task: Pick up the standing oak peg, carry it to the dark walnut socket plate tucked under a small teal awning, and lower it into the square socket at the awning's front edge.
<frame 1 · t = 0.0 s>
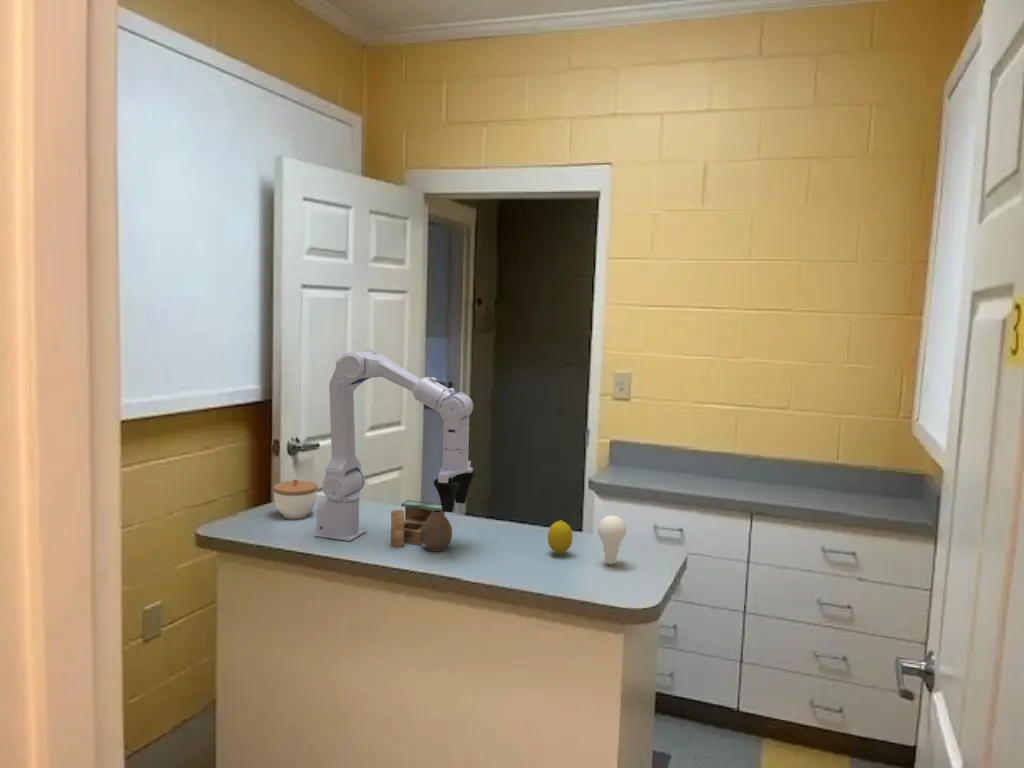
hand: (454, 507, 174), 10 cm above the table, fingers open, 7 cm apart
socket awning: (412, 538, 182), on the table
lidded jar: (295, 516, 198), on the table
lemon: (559, 555, 175), on the table
oak peg: (397, 545, 177), on the table
lightbulb: (610, 565, 170), on the table
vase: (436, 549, 176), on the table
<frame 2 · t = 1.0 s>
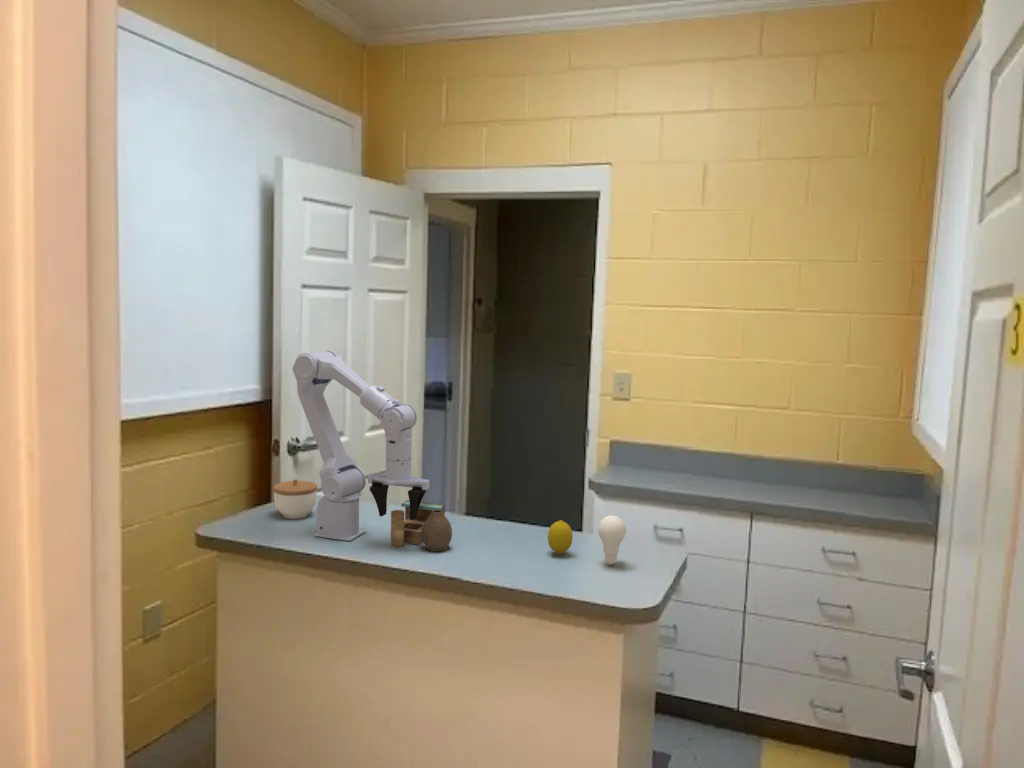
hand: (397, 517, 176), 7 cm above the table, fingers open, 7 cm apart
nothing on the table moved.
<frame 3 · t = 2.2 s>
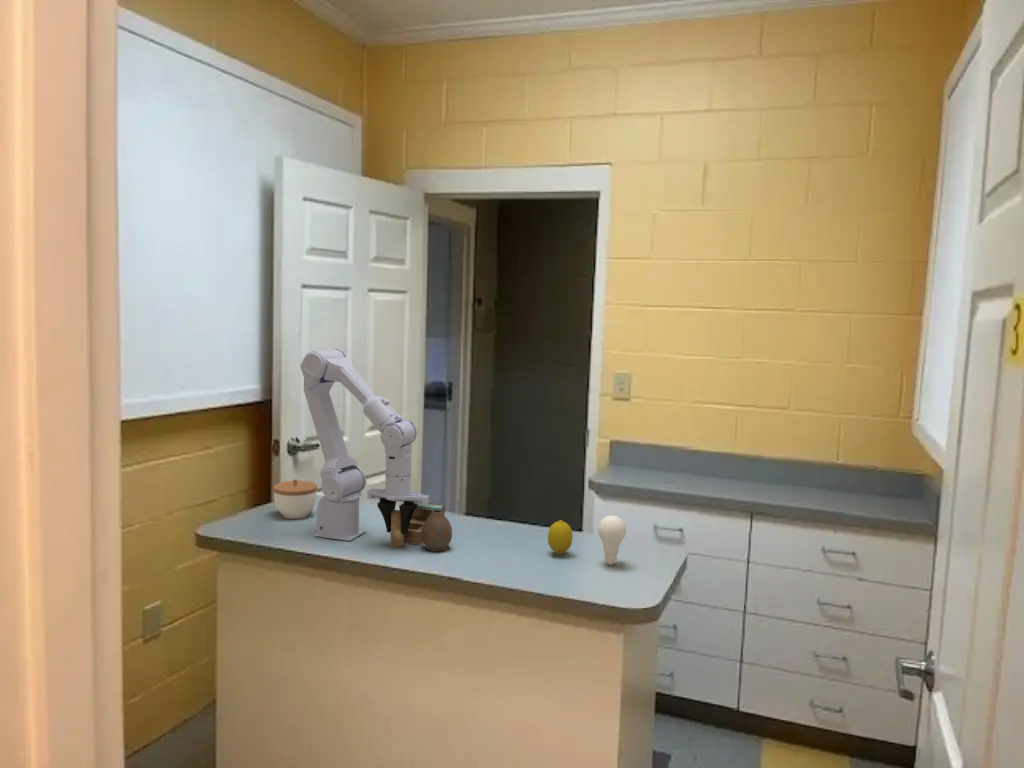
hand: (397, 532, 177), 3 cm above the table, fingers closed on oak peg, 3 cm apart
oak peg: (397, 545, 177), on the table, touching gripper
everything else where it was.
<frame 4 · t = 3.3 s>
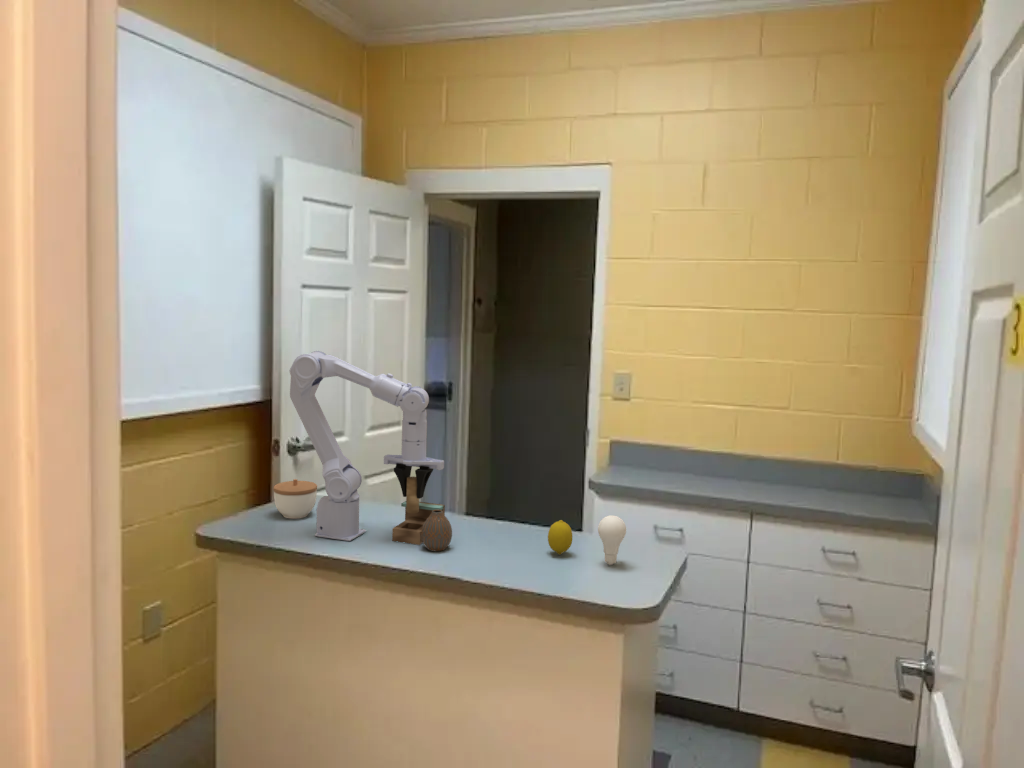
hand: (413, 496, 181), 10 cm above the table, fingers closed on oak peg, 3 cm apart
oak peg: (412, 511, 182), point 7 cm above the table, touching gripper
everything else where it was.
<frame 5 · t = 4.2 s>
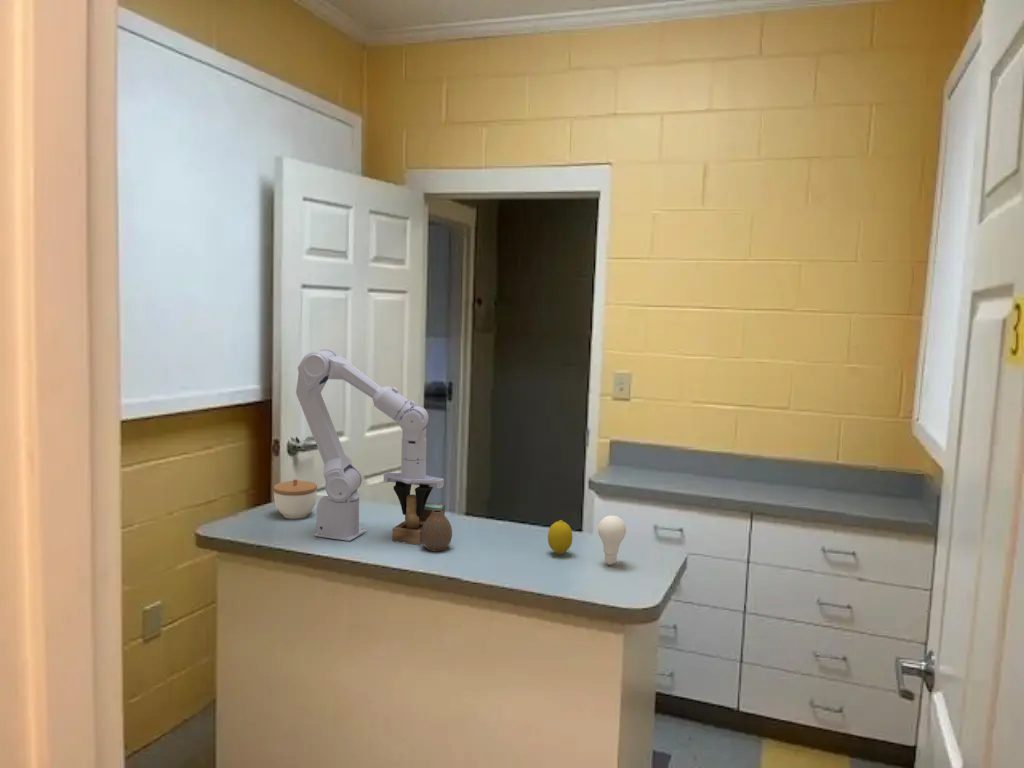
hand: (412, 514, 182), 6 cm above the table, fingers closed on oak peg, 3 cm apart
oak peg: (412, 529, 182), point 2 cm above the table, touching gripper
everything else where it was.
when the fingers open (5 cm above the table, at t = 4.8 s): oak peg drops 1 cm, resting in socket awning.
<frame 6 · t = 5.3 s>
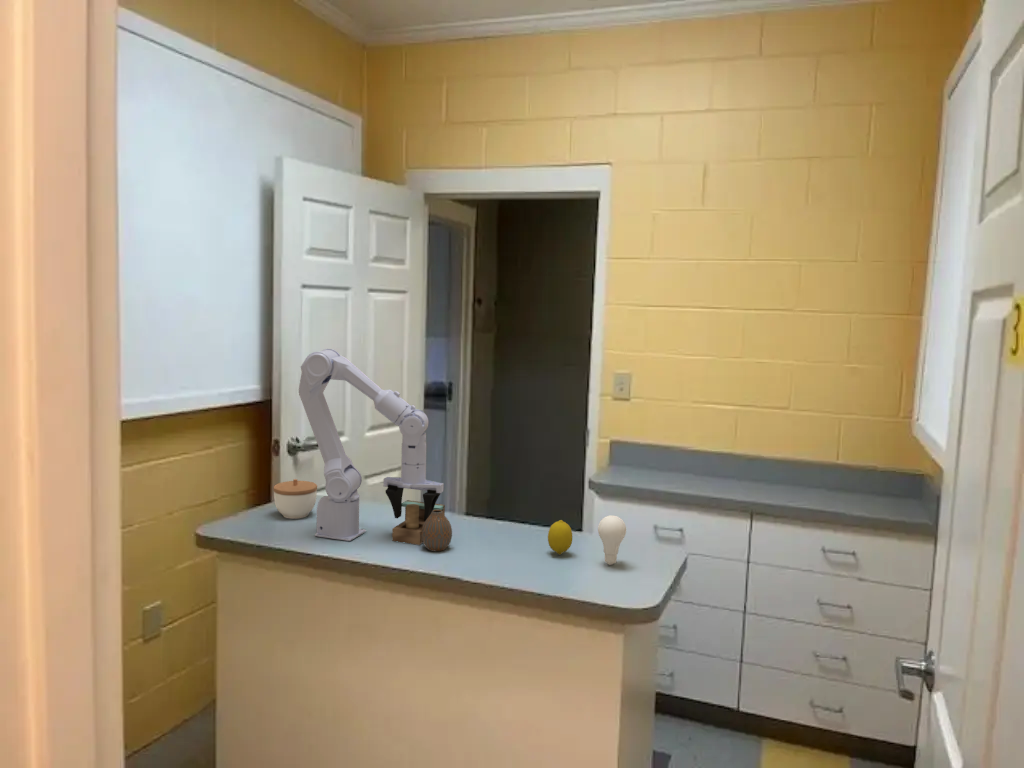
hand: (412, 519, 182), 5 cm above the table, fingers open, 7 cm apart
oak peg: (412, 538, 182), resting in socket awning
everything else where it was.
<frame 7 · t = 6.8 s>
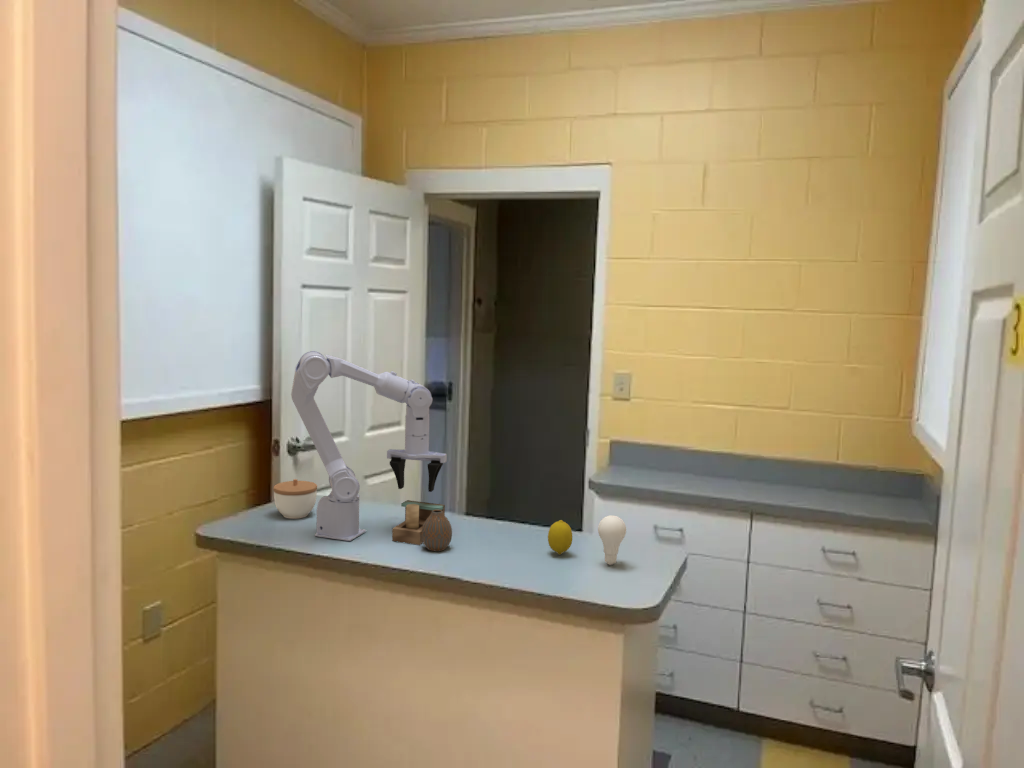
hand: (416, 489, 188), 10 cm above the table, fingers open, 7 cm apart
nothing on the table moved.
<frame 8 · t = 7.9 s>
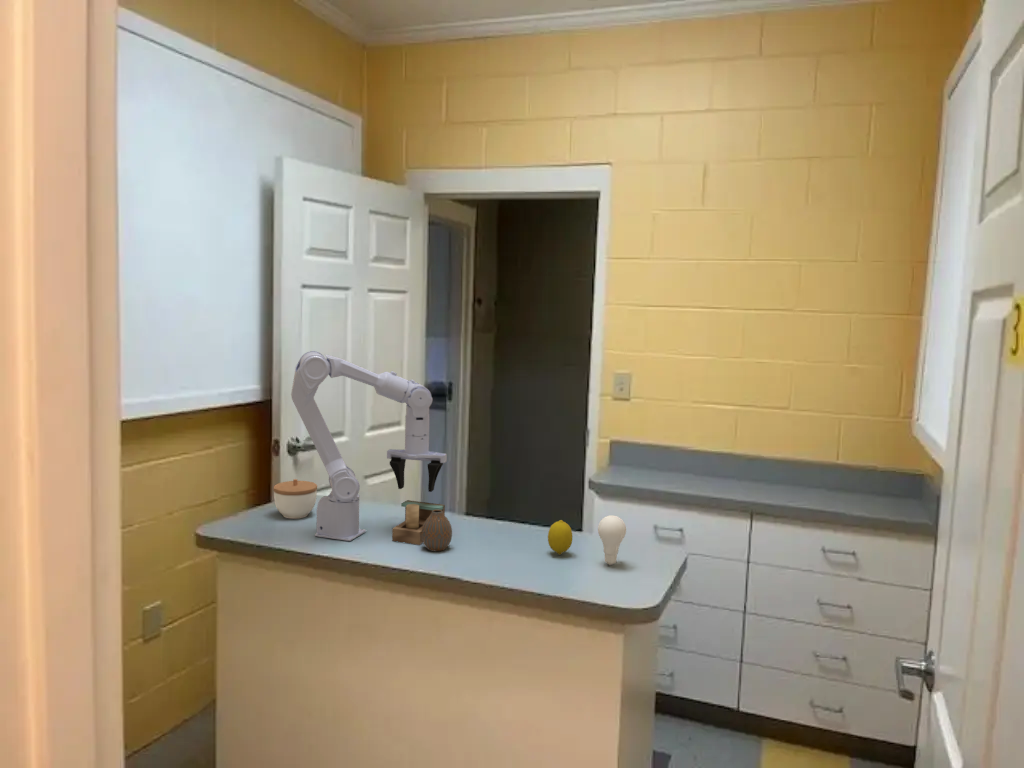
hand: (416, 489, 188), 10 cm above the table, fingers open, 7 cm apart
nothing on the table moved.
at the end: oak peg 0.2 cm off-centre on the socket awning, point 0.0 cm above the socket awning's base; oak peg tilted 0°; the gripper is holding nothing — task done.
